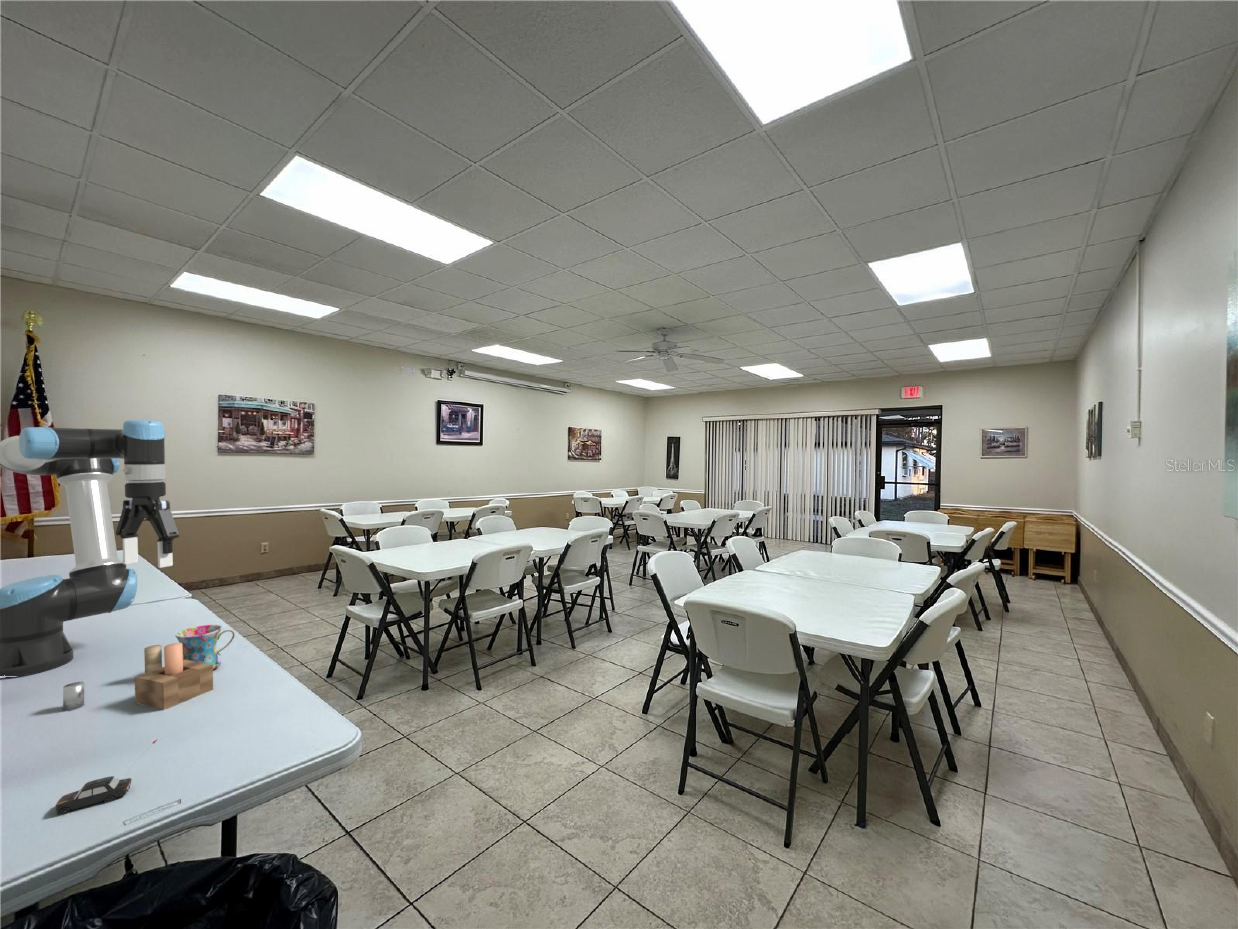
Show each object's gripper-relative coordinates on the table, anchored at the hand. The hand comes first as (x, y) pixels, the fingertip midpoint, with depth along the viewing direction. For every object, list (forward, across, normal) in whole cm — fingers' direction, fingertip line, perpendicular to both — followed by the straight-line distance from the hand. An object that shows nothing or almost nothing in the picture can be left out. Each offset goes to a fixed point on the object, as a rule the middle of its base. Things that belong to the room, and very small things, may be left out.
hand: (147, 565), depth 127 cm
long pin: (+29, +18, -5) cm, 34 cm away
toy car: (+29, +48, -31) cm, 64 cm away
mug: (+29, +9, +7) cm, 31 cm away
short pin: (+29, +2, -16) cm, 33 cm away
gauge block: (+29, +18, -5) cm, 34 cm away
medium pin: (+29, +2, 0) cm, 29 cm away
